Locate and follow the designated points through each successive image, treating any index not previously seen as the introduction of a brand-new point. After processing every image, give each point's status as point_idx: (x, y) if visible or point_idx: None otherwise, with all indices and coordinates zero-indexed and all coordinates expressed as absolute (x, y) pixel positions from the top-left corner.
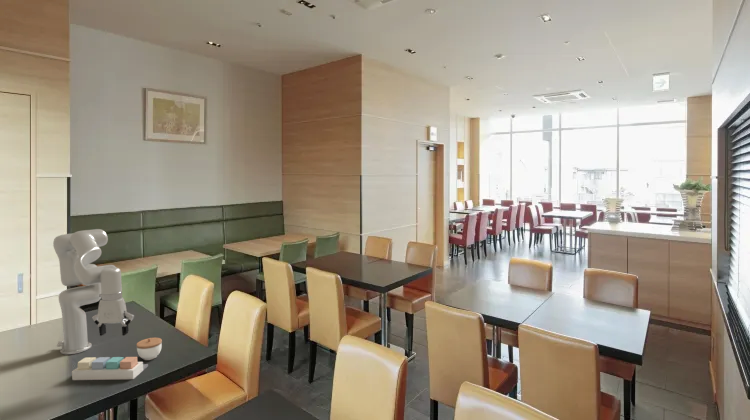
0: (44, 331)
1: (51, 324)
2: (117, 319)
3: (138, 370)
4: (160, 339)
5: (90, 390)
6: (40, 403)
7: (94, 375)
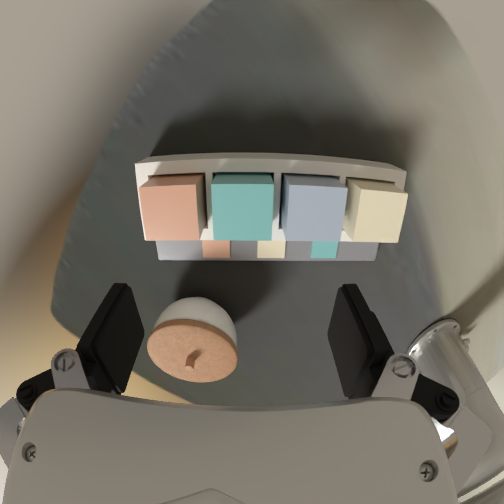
0: None
1: None
2: (53, 437)
3: None
4: (162, 368)
5: (270, 70)
6: (388, 20)
7: (312, 157)
